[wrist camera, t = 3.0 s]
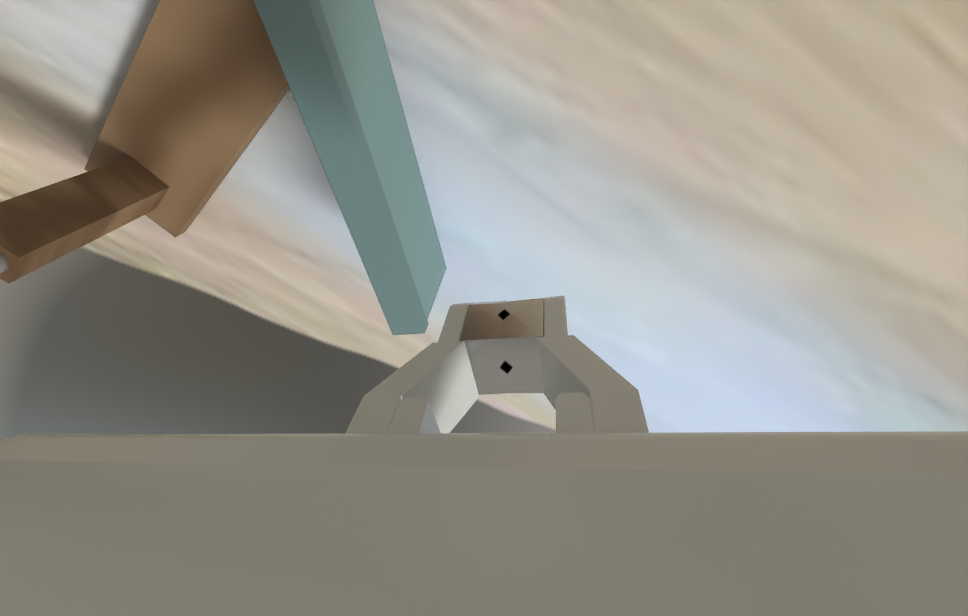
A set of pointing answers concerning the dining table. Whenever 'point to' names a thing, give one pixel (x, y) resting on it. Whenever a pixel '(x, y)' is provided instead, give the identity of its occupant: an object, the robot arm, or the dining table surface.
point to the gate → (362, 146)
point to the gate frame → (158, 134)
